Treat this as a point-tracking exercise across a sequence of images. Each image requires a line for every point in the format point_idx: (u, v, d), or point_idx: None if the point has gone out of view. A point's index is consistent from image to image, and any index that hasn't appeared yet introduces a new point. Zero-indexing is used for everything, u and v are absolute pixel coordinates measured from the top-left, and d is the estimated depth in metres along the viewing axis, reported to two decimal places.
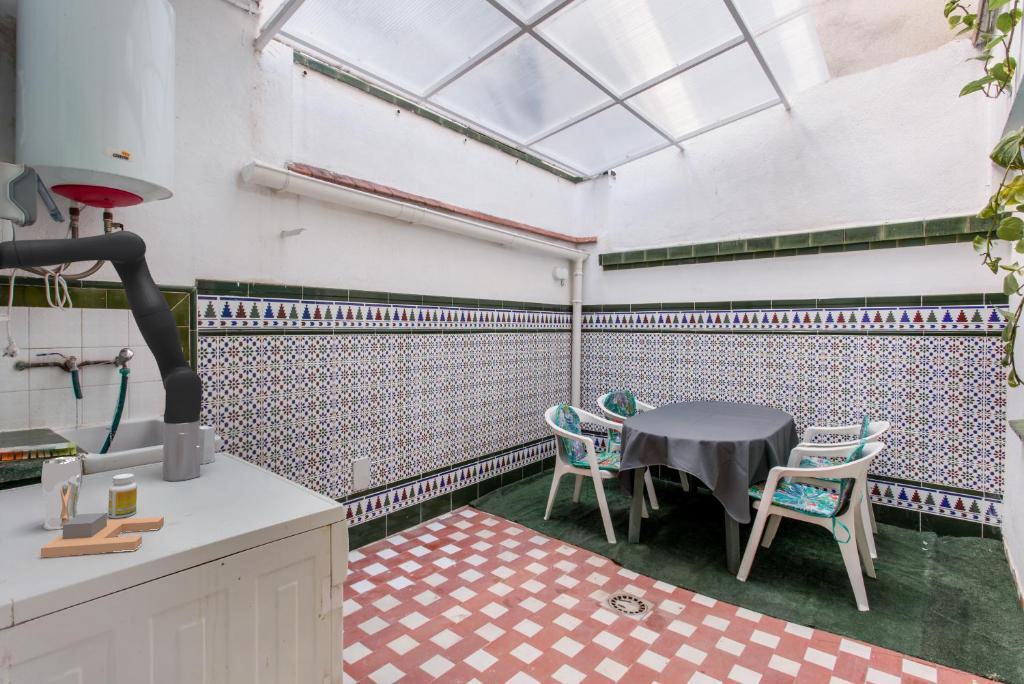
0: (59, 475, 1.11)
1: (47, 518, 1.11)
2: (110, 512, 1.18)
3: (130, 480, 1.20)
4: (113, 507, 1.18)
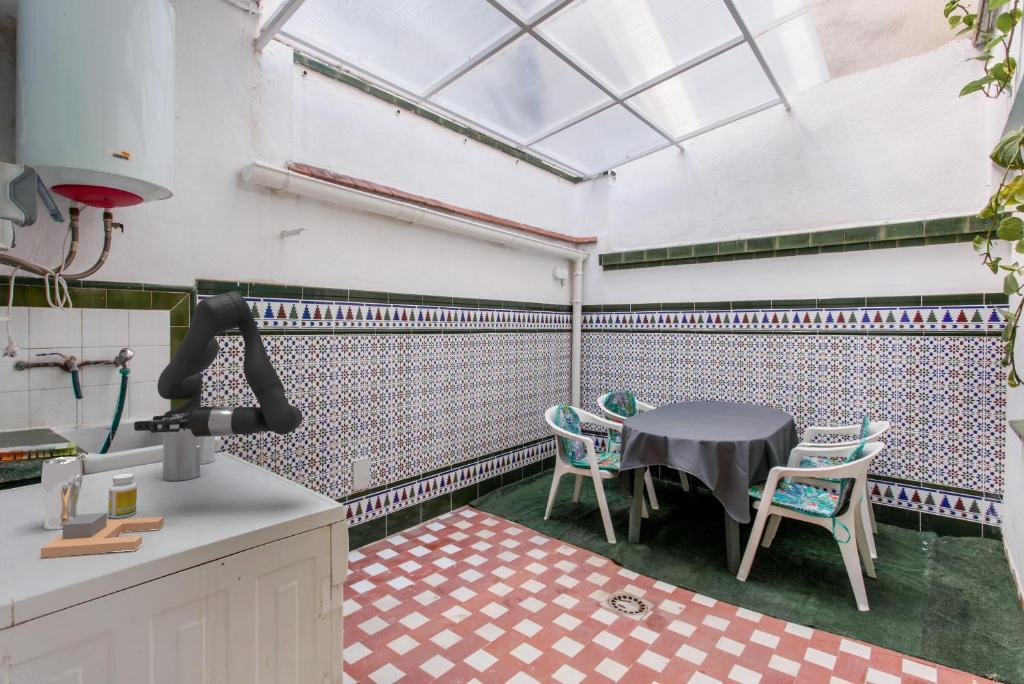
0: (59, 475, 1.11)
1: (47, 518, 1.11)
2: (110, 512, 1.18)
3: (130, 480, 1.20)
4: (113, 507, 1.18)
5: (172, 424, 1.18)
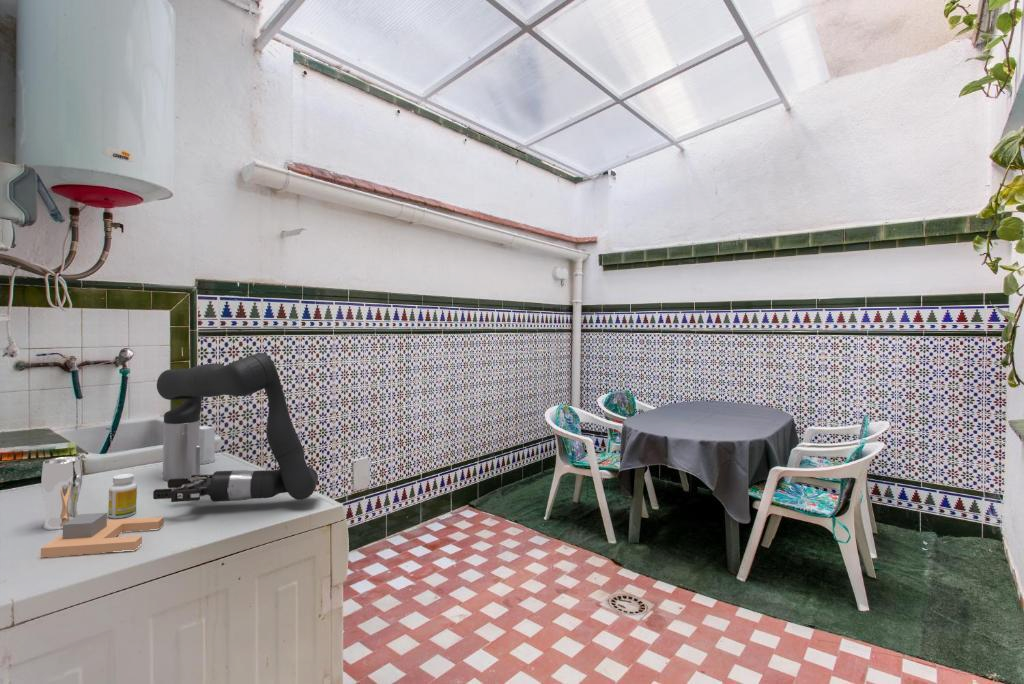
0: (59, 475, 1.11)
1: (47, 518, 1.11)
2: (110, 512, 1.18)
3: (130, 480, 1.20)
4: (113, 507, 1.18)
5: (193, 493, 1.19)
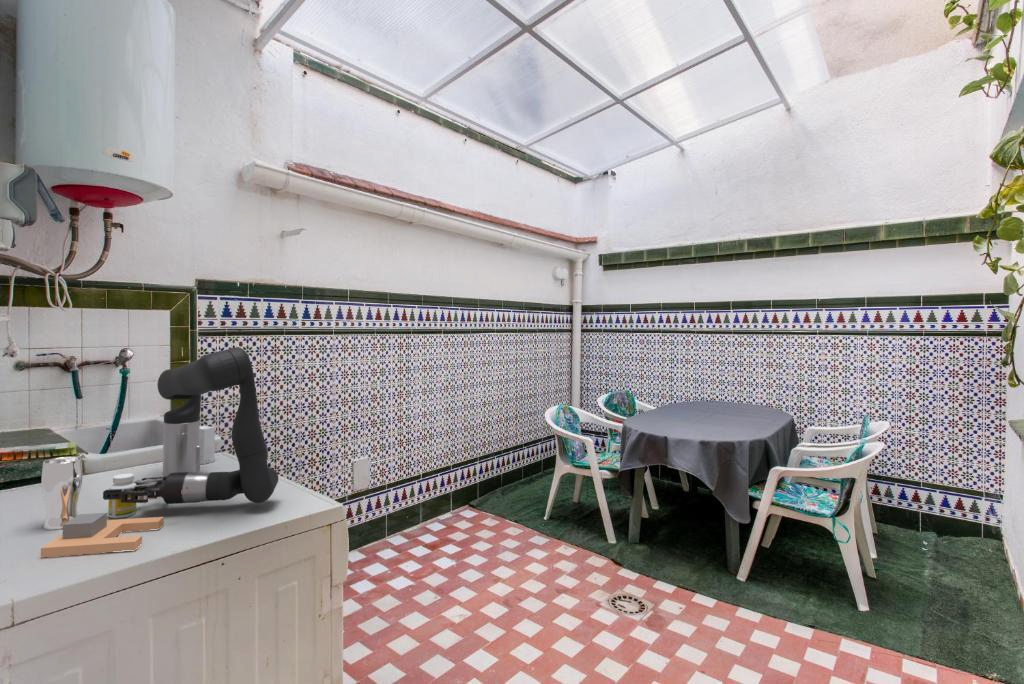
0: (59, 475, 1.11)
1: (47, 518, 1.11)
2: (110, 512, 1.18)
3: (130, 480, 1.20)
4: (113, 507, 1.18)
5: (140, 495, 1.16)
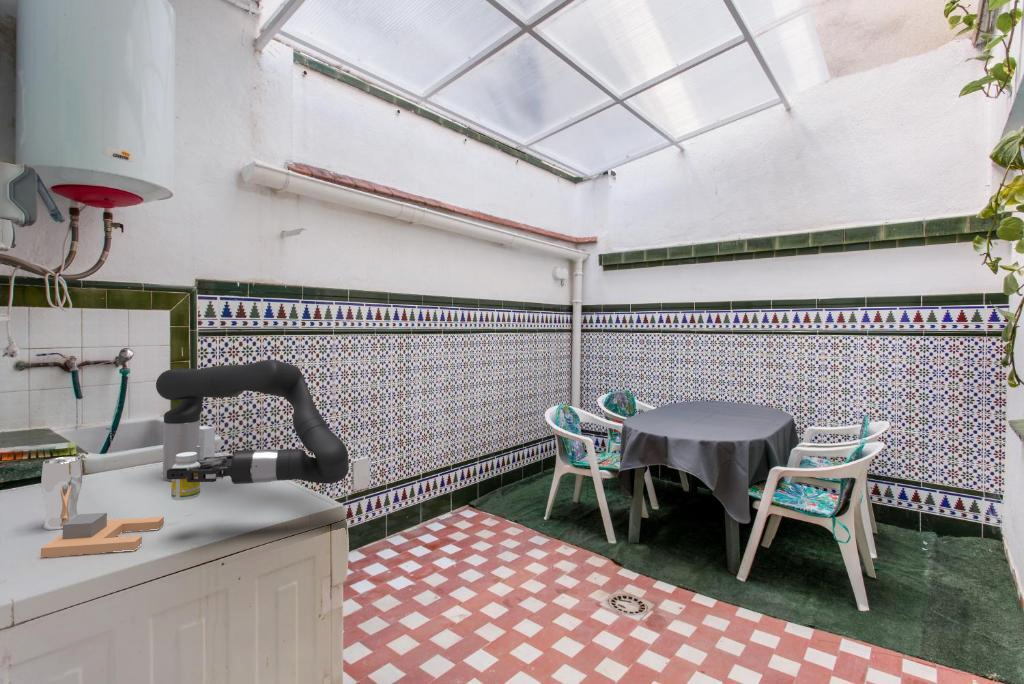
0: (59, 475, 1.11)
1: (47, 518, 1.11)
2: (174, 493, 1.08)
3: (194, 458, 1.10)
4: (177, 488, 1.07)
5: (208, 473, 1.05)
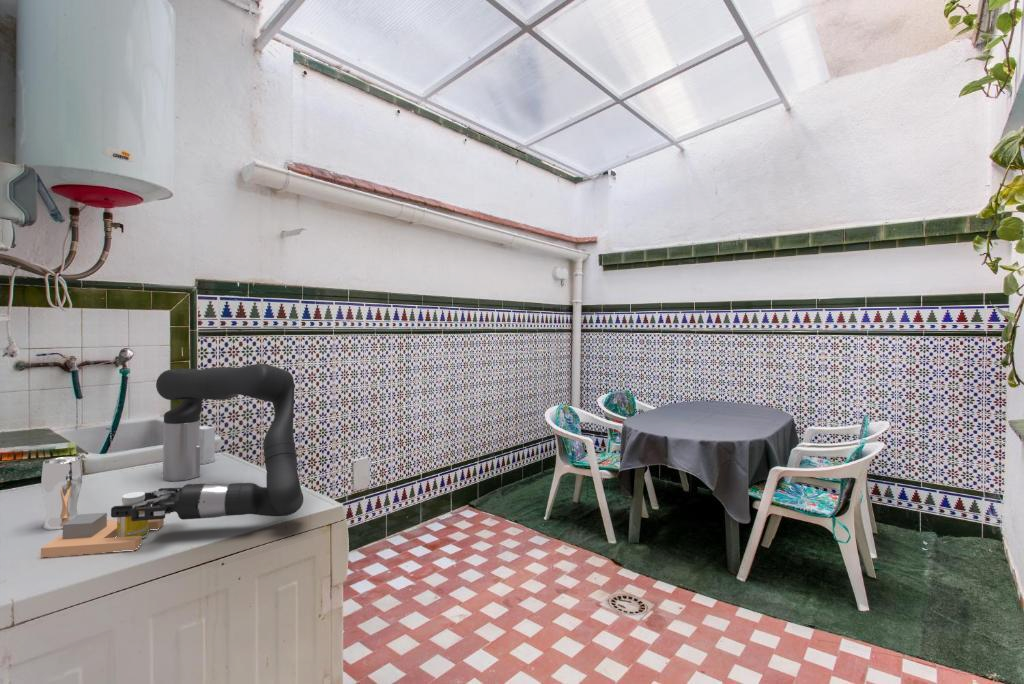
0: (59, 475, 1.11)
1: (47, 518, 1.11)
2: (119, 536, 1.05)
3: (141, 499, 1.07)
4: (123, 530, 1.05)
5: (156, 510, 1.03)
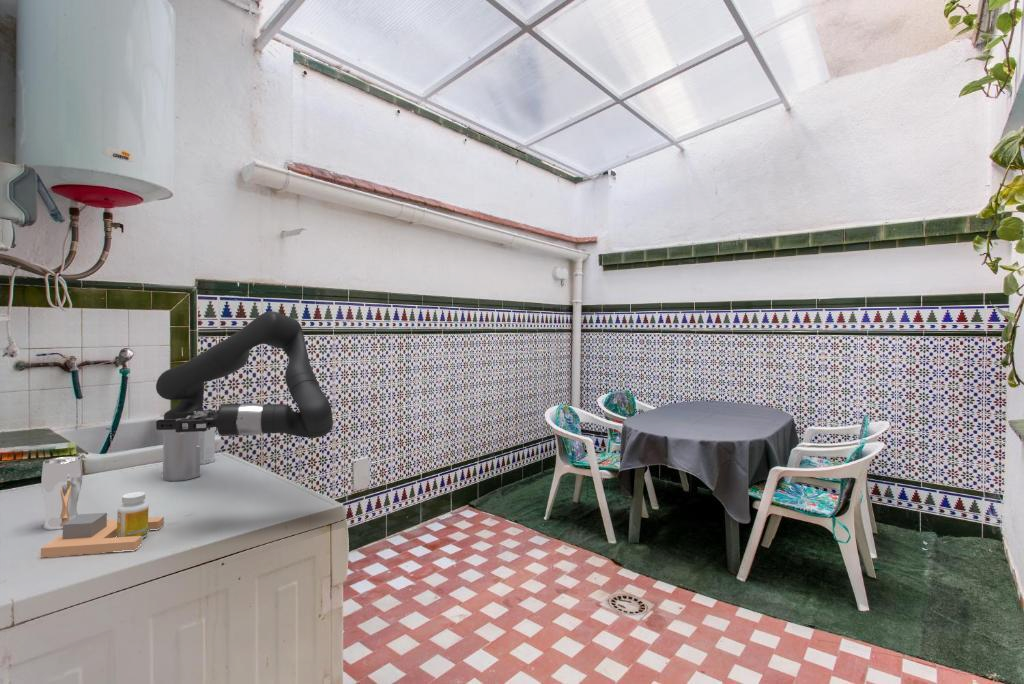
0: (59, 475, 1.11)
1: (47, 518, 1.11)
2: (119, 536, 1.05)
3: (141, 499, 1.07)
4: (123, 530, 1.05)
5: (199, 423, 1.09)
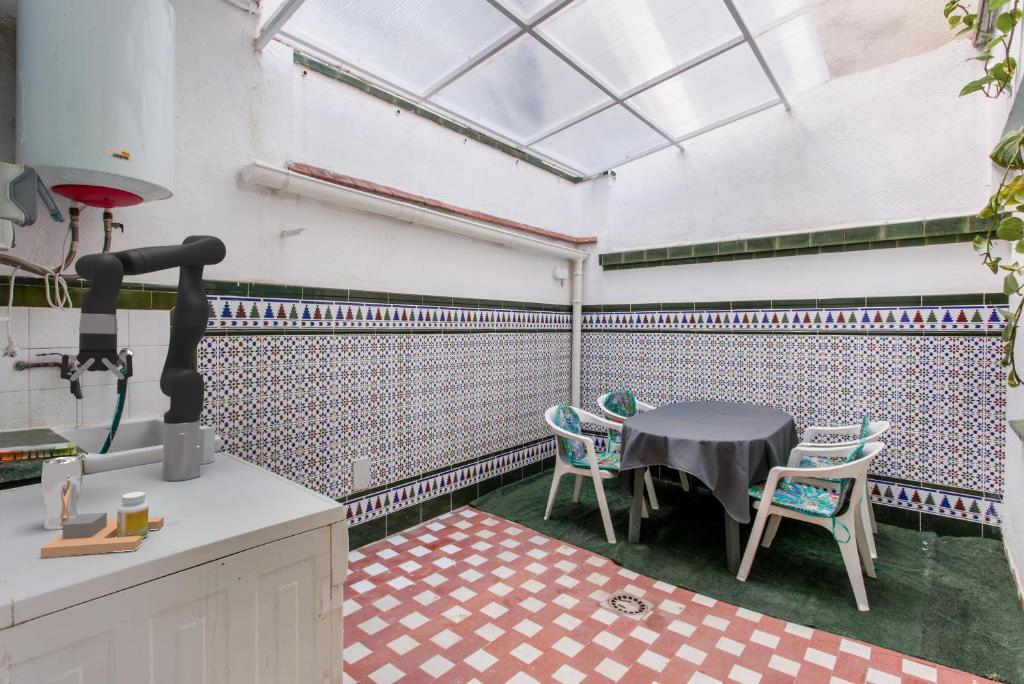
0: (59, 475, 1.11)
1: (47, 518, 1.11)
2: (119, 536, 1.05)
3: (141, 499, 1.07)
4: (123, 530, 1.05)
5: None
